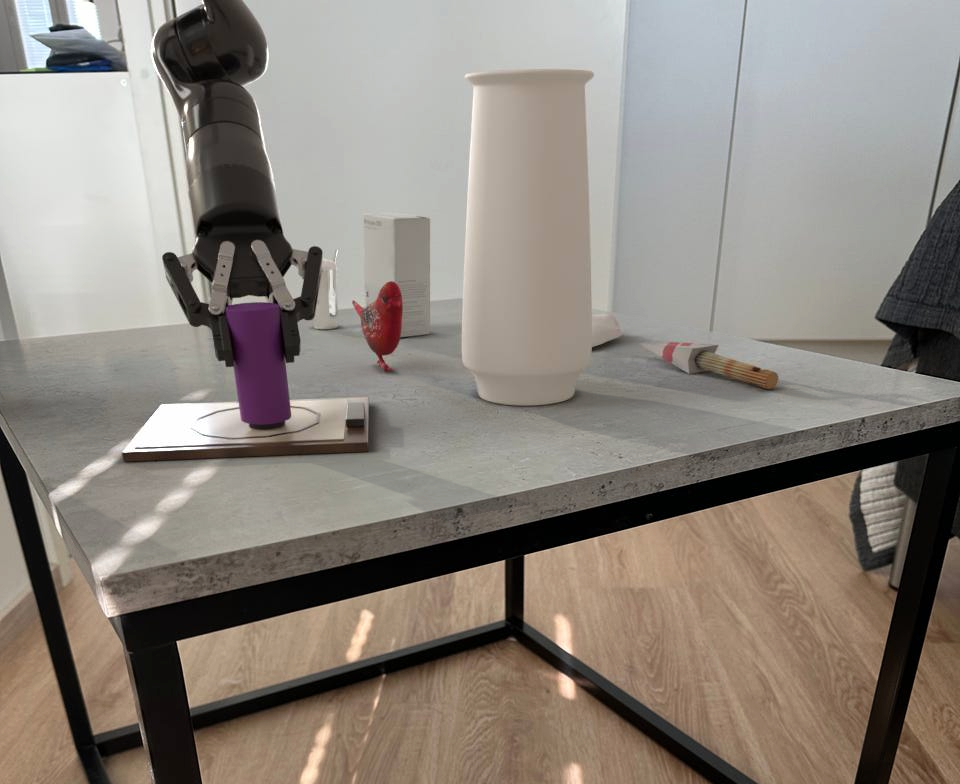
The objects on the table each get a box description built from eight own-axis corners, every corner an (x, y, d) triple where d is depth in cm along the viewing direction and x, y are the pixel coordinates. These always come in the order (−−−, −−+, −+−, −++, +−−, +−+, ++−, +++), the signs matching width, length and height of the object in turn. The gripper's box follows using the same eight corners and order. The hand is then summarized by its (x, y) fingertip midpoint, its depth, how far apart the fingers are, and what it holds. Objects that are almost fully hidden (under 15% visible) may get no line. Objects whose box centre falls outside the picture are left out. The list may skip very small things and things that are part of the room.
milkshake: (353, 326, 131) (347, 250, 127) (323, 331, 128) (316, 254, 123) (333, 322, 134) (326, 248, 130) (303, 327, 131) (295, 251, 126)
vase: (523, 374, 102) (525, 80, 89) (615, 392, 94) (633, 72, 81) (436, 395, 94) (425, 75, 81) (529, 417, 86) (533, 66, 73)
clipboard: (123, 462, 76) (119, 443, 75) (162, 412, 90) (160, 397, 89) (368, 451, 77) (366, 434, 77) (369, 404, 91) (368, 389, 91)
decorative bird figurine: (391, 383, 100) (385, 284, 95) (345, 354, 114) (338, 267, 109) (416, 380, 100) (412, 283, 96) (367, 352, 115) (361, 266, 110)
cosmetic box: (365, 330, 128) (357, 213, 121) (401, 325, 131) (396, 211, 124) (397, 339, 122) (391, 216, 115) (435, 333, 125) (431, 213, 118)
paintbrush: (662, 327, 109) (787, 365, 94) (659, 351, 111) (782, 392, 96) (636, 330, 108) (759, 369, 93) (634, 354, 109) (755, 396, 94)
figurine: (530, 314, 132) (526, 188, 123) (645, 327, 122) (650, 193, 113) (445, 352, 119) (434, 214, 110) (567, 370, 109) (566, 222, 100)
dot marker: (238, 432, 80) (221, 311, 75) (245, 419, 84) (229, 303, 79) (290, 430, 80) (276, 309, 75) (294, 417, 84) (281, 301, 79)
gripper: (142, 162, 77) (165, 337, 72) (314, 159, 80) (347, 326, 75) (155, 228, 84) (177, 391, 79) (313, 222, 87) (343, 378, 82)
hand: (260, 358), depth 77 cm, fingers closed on dot marker, 4 cm apart
